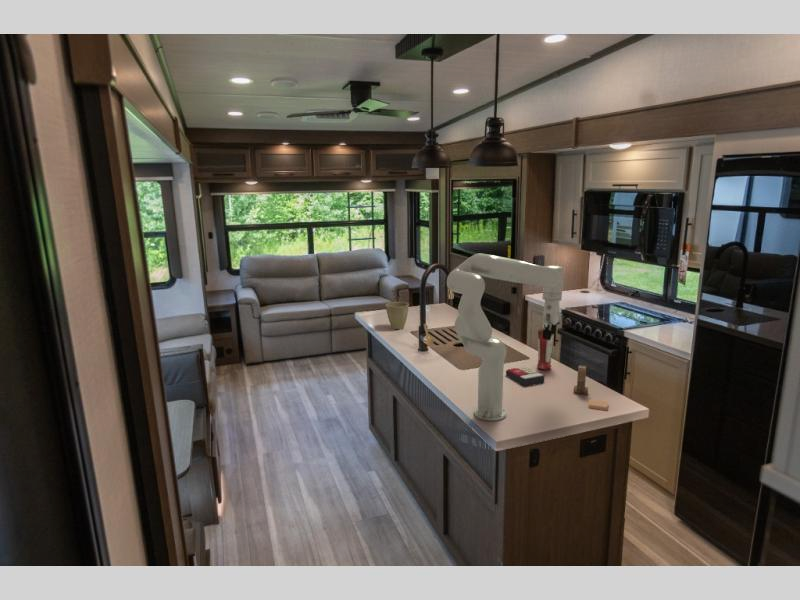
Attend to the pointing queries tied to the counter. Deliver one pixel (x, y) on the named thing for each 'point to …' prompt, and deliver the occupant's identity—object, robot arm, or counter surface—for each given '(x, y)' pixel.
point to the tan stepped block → (581, 381)
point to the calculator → (525, 376)
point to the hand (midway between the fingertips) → (548, 336)
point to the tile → (598, 404)
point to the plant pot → (397, 314)
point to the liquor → (544, 351)
